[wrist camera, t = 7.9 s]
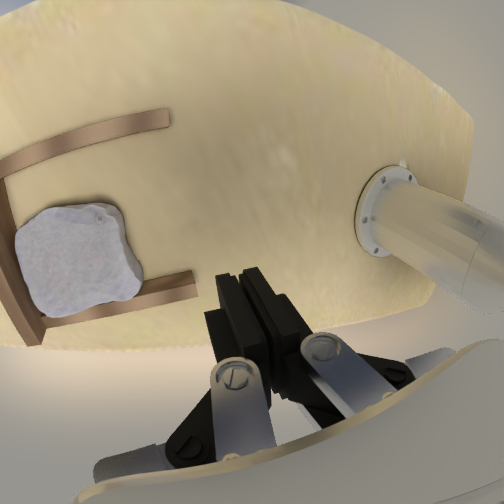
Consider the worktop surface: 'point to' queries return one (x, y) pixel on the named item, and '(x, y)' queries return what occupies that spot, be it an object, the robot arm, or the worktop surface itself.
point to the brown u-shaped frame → (4, 231)
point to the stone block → (77, 258)
